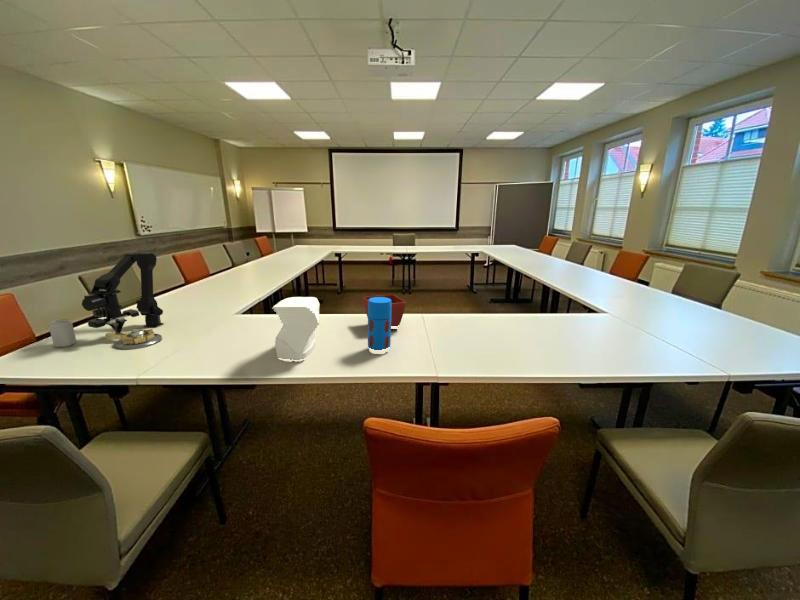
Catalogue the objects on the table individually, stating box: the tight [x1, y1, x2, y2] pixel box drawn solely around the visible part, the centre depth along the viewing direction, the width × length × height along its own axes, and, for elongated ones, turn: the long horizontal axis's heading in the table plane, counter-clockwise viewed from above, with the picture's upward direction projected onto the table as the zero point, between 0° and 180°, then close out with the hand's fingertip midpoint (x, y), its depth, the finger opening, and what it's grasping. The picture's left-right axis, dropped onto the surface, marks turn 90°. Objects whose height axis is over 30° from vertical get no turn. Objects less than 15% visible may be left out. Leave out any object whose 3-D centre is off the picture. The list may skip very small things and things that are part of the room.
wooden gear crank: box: [105, 328, 155, 344], centre depth 158 cm, size 20×12×4 cm, turn 90°
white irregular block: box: [271, 296, 321, 360], centre depth 149 cm, size 21×27×26 cm
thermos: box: [367, 297, 392, 350], centre depth 155 cm, size 11×11×25 cm
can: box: [48, 318, 77, 348], centre depth 151 cm, size 8×8×12 cm
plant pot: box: [362, 294, 406, 326], centre depth 187 cm, size 19×19×17 cm
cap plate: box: [114, 329, 163, 351], centre depth 158 cm, size 18×18×6 cm
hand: (118, 334), depth 160 cm, fingers closed
